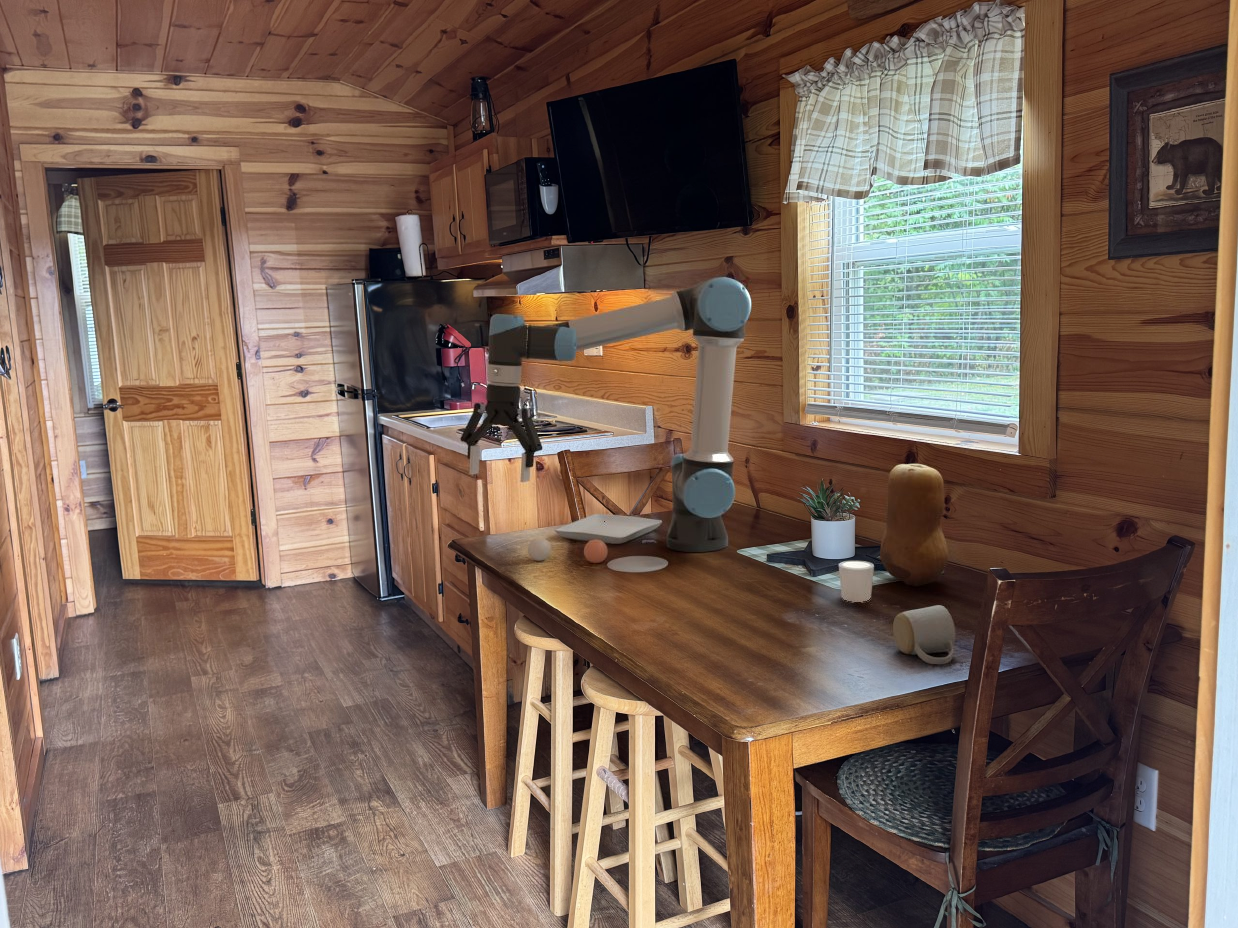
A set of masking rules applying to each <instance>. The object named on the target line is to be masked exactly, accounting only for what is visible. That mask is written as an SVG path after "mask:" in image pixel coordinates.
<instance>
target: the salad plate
mask: <svg viewBox="0 0 1238 928" xmlns="http://www.w3.org/2000/svg"><path fill="white" fill-rule="evenodd" d="M604 521H605V522H604ZM662 523H663V521H662V520H660V519H655V518H654V519H653V518H645V517H637V516H628V515H620V514H606V513H595V514H592V515H589V516H586V517H584V518H581V519H578V520H575V521H573V522H571V523H569V524H565V525H563V526H560V527H558V528H556V529H554V532H555V533H556V534H557V535H559V536H560V537H563V538H566V539H571V540H575V541H583V542H584V541H585V542H589V541H591V540H595V539H596V540H601V541H602V542H604V543H605V544H609V543H610V544H612V545H620V544H625V543H626V542H629V541H631V540H634V539H637V538H638V537H641V536H643V535H645V534H647V533H650V532H652V531H654V530H655V529H657V528H658V527H659V526H660V525H661V524H662Z"/></svg>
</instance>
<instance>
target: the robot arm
mask: <svg viewBox="0 0 1238 928" xmlns="http://www.w3.org/2000/svg"><path fill="white" fill-rule="evenodd" d="M751 311H752V299H751V296H750V293H749V291H748V290H747V289H746V287H745V285H743V284H742V283H741V282H739V281H738V280H736V279H733V278H731V277H725V276H723V277H722V276H719V277H718V276H717V277H713V278H710V279H707V280H706V279H705V280H704V281H701V282H699V283H697V284H695V285H692V286H689V287H686V288H684V289H681V290H676V291H675V290H674V291H673V292H672V294H671V295H670V296H669V297H665V298H661V299H656V300H653V301H652V300H651V301H647V302H643V303H639V304H635V305H634V304H633V305H630V306H625V307H620V308H617V309H614V310H608V311H605V312H601V313H596V314H592V315H588V316H583V317H579V318H575V319H570V320H567V321H561V322H557V323H554V324H546V325H531V324H525V318H524V316H523V315H516V314H514V315H513V314H501V313H500V314H499V313H496V314H493V315H492V316H491V318H490V322H489V323H490V324H489V334H488V355H487V378H486V381H487V382H488V384H487V385H486V394H485V395H486V396H485V399H486V404H485V403H484V402H475V403H474V404H473V409H472V410H473V411H472V414H471V415H470V418H469V420H468V422H467V424H466V426H465V428H464V430H463V432H462V433H461V437H460V439H459V440H460V441H461V442H462V443H463V442H464V443H466V445H467V459H468V460H469V473H468V474H469V475H477V474H478V475H479V473H480V472H479V471H480V451H481V445H479V442H480V441H481V439H482V438H483V437H484V436H485V434H487V432H488V431H489V430H490V429H491V428H492V427H493V426H501V427H508V429H510V430H511V431H512V433H513V434H514V436H515V437H516V440H518V442H519V444H520V446H521V447H522V449H523V451H524V452H521V467H520V483H527V482H530V479H531V468H533V467H534V462H535V461H534V460H535V453H537V452H539V451H543V445H542V442H541V439H540V437H539V433H538V432H537V428H536V426H535V422H534V419H533V412H532V410H533V409H532V408H530V407H526V408H520V402H521V401H520V400H521V386H520V385H519V384H521V383H522V364H523V363H522V362H523V359H526V360H528V359H529V360H540V361H541V360H543V361H557V362H559V363H561V362H572V361H573V362H574V360H576V356H577V352H581V351H585V350H589V349H593V348H598V347H604V346H607V345H610V344H611V345H612V344H616V343H619V342H623V341H628V340H632V339H638V338H642V337H646V336H650V335H654V334H655V335H656V334H660V333H664V332H668V331H673V330H679V331H680V332H687V331H692V338H693V339H694V340H695V342H696V343H697V345H698V349H697V350H698V351H697V359H696V360H697V362H696V373H695V385H694V386H695V388H694V399H693V413H692V423H691V424H692V425H691V426H692V427H691V438H690V448H689V449H688V451H686V452H685V453H678V454H674V455H673V456H672V458H671V466H670V468H671V481H672V482H671V483H672V484H671V485H672V487H671V488H672V491H671V493H672V517H671V520H670V525H669V528H668V531H667V533H666V547H667V548H668V549H670V550H672V551H678V552H685V553H705V552H707V553H708V552H714V551H719V550H722V549H725V548H726V547H728V546H729V537H728V532H727V530H726V526H725V524H724V520H723V519H722V515H723V514H725V513H726V512H727V511H728V510H729V509H730V508H731V507H732V505H733V503H734V500H735V496H736V488H735V487H736V486H735V483H734V481H733V472H734V458H733V456H732V455H731V454H730V453H729V441H730V429H731V414H732V404H733V394H734V393H733V391H734V380H735V371H736V369H735V368H736V358H737V348H738V347H739V346H740V344H741V343H743V342H744V341H745V330H746V323H747V321H748V319H749V317H750V313H751ZM485 412H486V414H487V416H486V417H484V419H483V421H482V423H481V424H480V421H481V419H482V417H483V416H484V413H485ZM518 417H520V418H521V421H522V423H521V422H520V419H519V418H518ZM479 424H480V425H479ZM522 424H523V427H524V428H523V427H522Z"/></svg>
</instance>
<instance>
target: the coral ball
mask: <svg viewBox="0 0 1238 928" xmlns="http://www.w3.org/2000/svg"><path fill="white" fill-rule="evenodd" d="M583 549H584V550H583V554H584V557H585V558H586V560H587V561H588V562H590V563H593V564H599V563H602V562H603V561H604V560H605V559H606V558H607V556H608V554H609V553H608V552H609V551H608V546H607V545H606V543H604V542H602V541H601V540H596V539H595V540H591V541H587V543H586V544H585V545H584V548H583Z"/></svg>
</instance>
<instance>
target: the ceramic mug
mask: <svg viewBox="0 0 1238 928" xmlns="http://www.w3.org/2000/svg"><path fill="white" fill-rule="evenodd" d="M892 631H893V638H894V641H895V644H896V646H897V648H898V649H899V650H900V652H902V653H904V654H906V655H910V654H911V655H914V656H915V655H916V654H917V656H918V658H920V659H921V660H922V661H923V662H925V663H927V664H929V665H933V664H944V665H946V664H945V663H947V664H949V663H950V662H951V661H952V659H953V657H954V646H955V645H956V636H957V635H956V627H955V623H954V620H953V618H952V616H951V613H950V612H949V611H948V609H947V608H946V607H945V606H943V605H939V604H937V605H931V606H928V607H923V608H918V609H917V608H916V609H911V610H906V611H903V612H900V613H898V614H897V615H896V616H895V618H894V620H893V623H892ZM947 651H948V652H949V653H948V655H946V656H945V657H934V656H931V655H929V654H935V653H936V654H937V652H938V653H947ZM948 662H949V663H948Z"/></svg>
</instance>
